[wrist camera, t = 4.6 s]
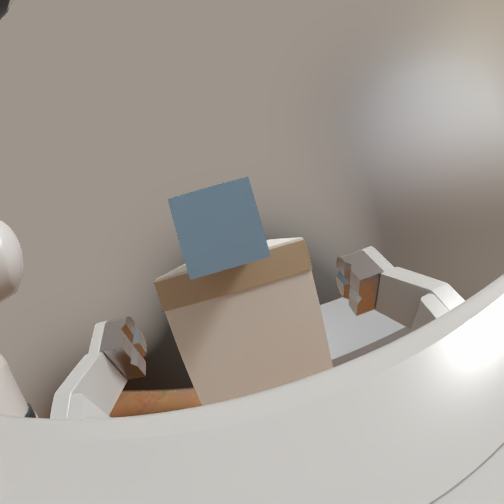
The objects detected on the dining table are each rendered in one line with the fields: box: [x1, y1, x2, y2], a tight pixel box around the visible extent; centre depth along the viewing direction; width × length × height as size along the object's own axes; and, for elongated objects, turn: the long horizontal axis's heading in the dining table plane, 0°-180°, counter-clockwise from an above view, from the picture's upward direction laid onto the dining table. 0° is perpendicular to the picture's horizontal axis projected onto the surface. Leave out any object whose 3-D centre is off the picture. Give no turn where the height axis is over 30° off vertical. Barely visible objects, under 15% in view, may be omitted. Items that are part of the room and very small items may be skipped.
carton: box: [154, 237, 333, 406], centre depth 30 cm, size 16×12×26 cm
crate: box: [320, 297, 411, 368], centre depth 31 cm, size 16×12×15 cm
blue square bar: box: [168, 177, 271, 280], centre depth 23 cm, size 20×4×4 cm, turn 6°
